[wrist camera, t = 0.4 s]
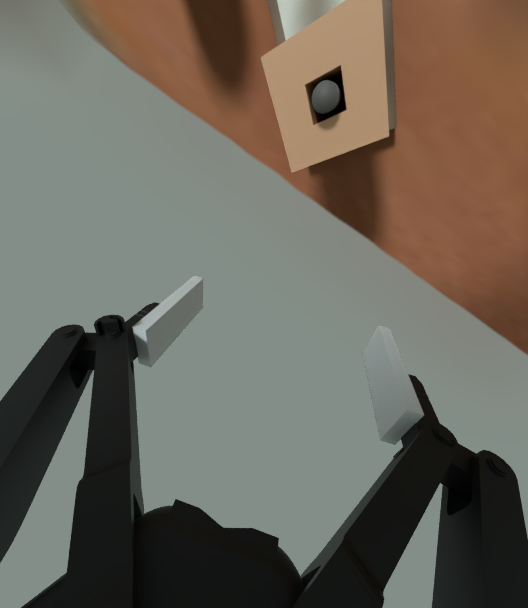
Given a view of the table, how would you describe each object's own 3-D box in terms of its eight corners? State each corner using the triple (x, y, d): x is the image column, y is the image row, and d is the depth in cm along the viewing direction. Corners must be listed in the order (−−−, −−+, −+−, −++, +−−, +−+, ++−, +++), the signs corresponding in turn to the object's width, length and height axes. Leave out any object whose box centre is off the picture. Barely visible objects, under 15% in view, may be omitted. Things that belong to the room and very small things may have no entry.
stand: (384, -141, 18) (413, -522, 7) (394, 125, 28) (414, 145, 17) (263, -34, 23) (169, -155, 12) (307, 159, 33) (277, 191, 22)
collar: (377, 5, 17) (380, -24, 13) (384, 128, 22) (389, 136, 18) (281, 65, 21) (260, 57, 17) (304, 160, 25) (291, 172, 21)
